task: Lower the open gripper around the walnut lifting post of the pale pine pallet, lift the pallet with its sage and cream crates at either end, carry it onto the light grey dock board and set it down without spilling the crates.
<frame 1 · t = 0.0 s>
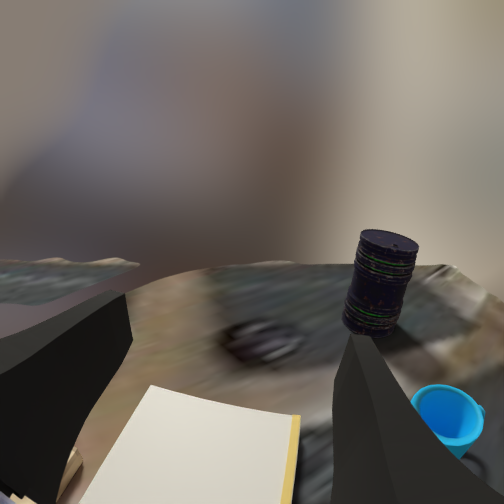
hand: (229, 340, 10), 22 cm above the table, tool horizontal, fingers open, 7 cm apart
storage jar: (367, 322, 51), on the table
mug: (426, 457, 25), on the table
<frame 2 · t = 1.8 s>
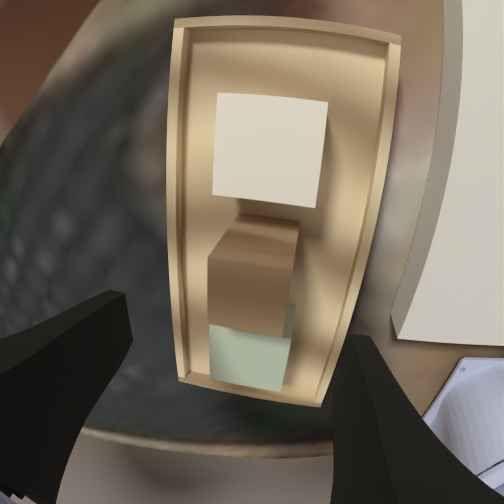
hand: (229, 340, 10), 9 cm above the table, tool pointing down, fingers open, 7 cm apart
sage crate: (257, 326, 18), point 2 cm above the table
cream crate: (276, 141, 14), point 2 cm above the table, touching pallet
pallet: (271, 230, 18), on the table, touching cream crate
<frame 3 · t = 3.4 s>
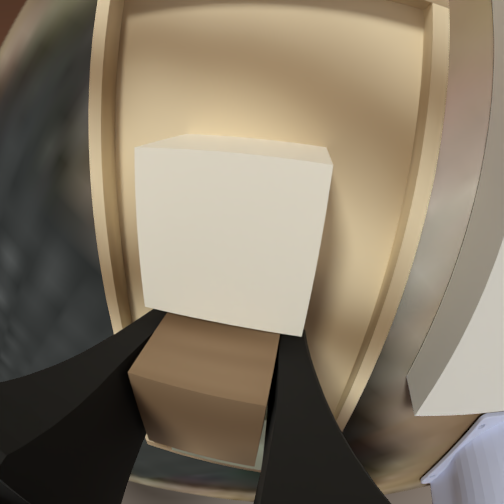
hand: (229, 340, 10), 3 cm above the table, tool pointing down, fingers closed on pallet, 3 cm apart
sage crate: (234, 383, 13), point 2 cm above the table, touching pallet
cream crate: (248, 205, 9), point 2 cm above the table, touching pallet
pallet: (251, 281, 13), on the table, touching cream crate, gripper, sage crate
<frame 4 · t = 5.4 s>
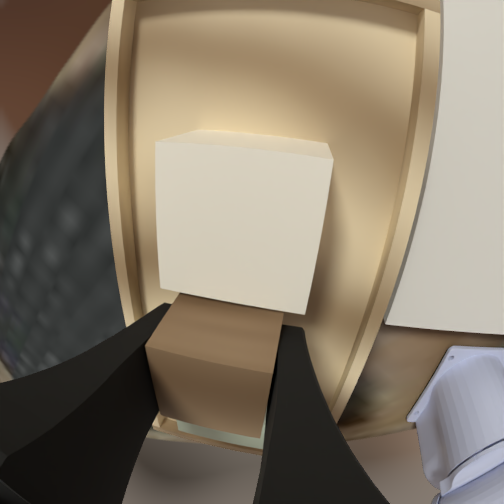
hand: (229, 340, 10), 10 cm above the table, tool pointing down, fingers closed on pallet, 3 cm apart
sage crate: (239, 365, 14), point 8 cm above the table, touching pallet
cream crate: (255, 196, 10), point 8 cm above the table, touching pallet
pallet: (255, 267, 14), point 6 cm above the table, touching cream crate, gripper, sage crate
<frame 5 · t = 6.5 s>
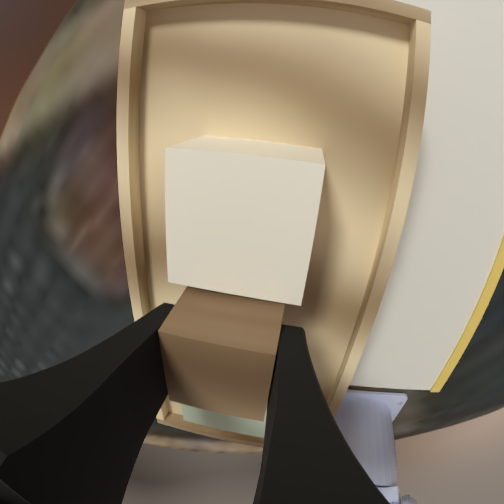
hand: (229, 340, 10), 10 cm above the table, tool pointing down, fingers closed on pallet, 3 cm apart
dock: (388, 188, 17), on the table
sage crate: (242, 357, 14), point 7 cm above the table, touching pallet
cream crate: (255, 197, 11), point 7 cm above the table, touching pallet
pallet: (257, 263, 14), point 5 cm above the table, touching cream crate, gripper, sage crate
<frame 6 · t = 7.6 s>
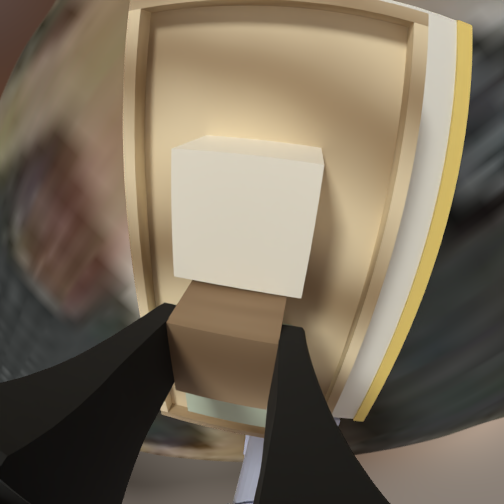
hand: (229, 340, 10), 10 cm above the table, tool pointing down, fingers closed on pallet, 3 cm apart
dock: (288, 230, 18), on the table
sage crate: (244, 348, 15), point 6 cm above the table, touching pallet
cream crate: (257, 194, 11), point 6 cm above the table, touching pallet
pallet: (259, 257, 15), point 4 cm above the table, touching cream crate, gripper, sage crate
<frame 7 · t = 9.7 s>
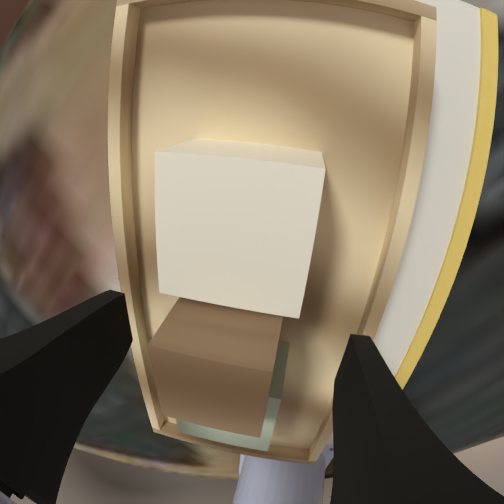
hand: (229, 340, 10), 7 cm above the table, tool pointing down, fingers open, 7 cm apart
dock: (284, 248, 16), on the table
sage crate: (238, 367, 14), point 4 cm above the table, touching pallet
cream crate: (252, 203, 10), point 4 cm above the table, touching pallet
pallet: (255, 271, 14), point 2 cm above the table, touching cream crate, dock, sage crate
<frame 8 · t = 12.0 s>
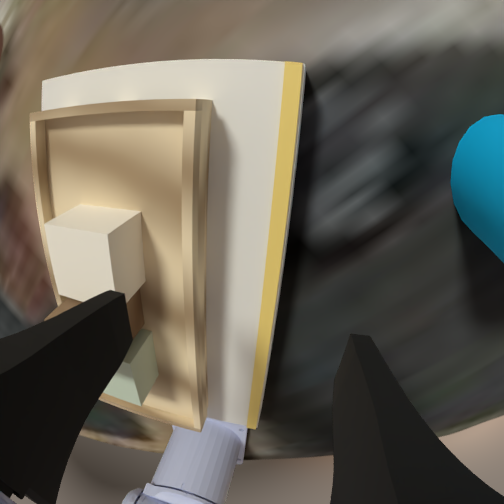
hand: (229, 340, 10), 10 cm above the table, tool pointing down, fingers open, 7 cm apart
dock: (164, 265, 21), on the table
sage crate: (128, 346, 19), point 4 cm above the table, touching pallet
cream crate: (111, 242, 16), point 4 cm above the table, touching pallet
pallet: (135, 281, 19), point 2 cm above the table, touching cream crate, dock, sage crate
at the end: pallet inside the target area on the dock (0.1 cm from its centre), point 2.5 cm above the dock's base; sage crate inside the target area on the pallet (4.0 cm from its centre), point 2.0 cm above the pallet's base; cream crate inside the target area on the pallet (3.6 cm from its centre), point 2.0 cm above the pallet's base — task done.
